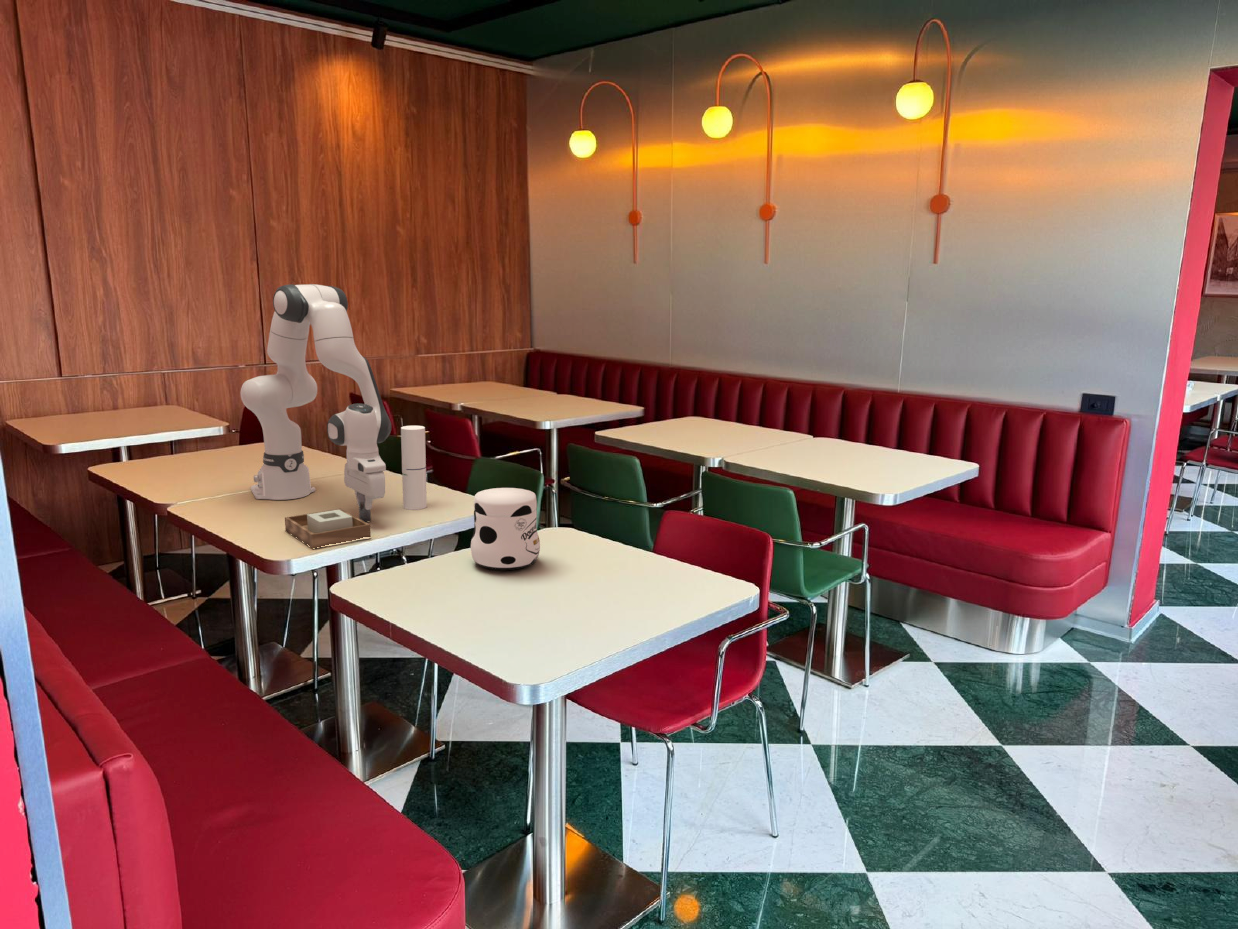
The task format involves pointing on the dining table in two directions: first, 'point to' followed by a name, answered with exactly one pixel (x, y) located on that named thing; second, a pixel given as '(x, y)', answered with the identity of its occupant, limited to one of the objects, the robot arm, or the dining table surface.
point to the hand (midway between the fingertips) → (364, 507)
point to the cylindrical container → (413, 467)
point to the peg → (363, 509)
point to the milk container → (505, 529)
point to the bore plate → (328, 521)
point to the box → (300, 530)
